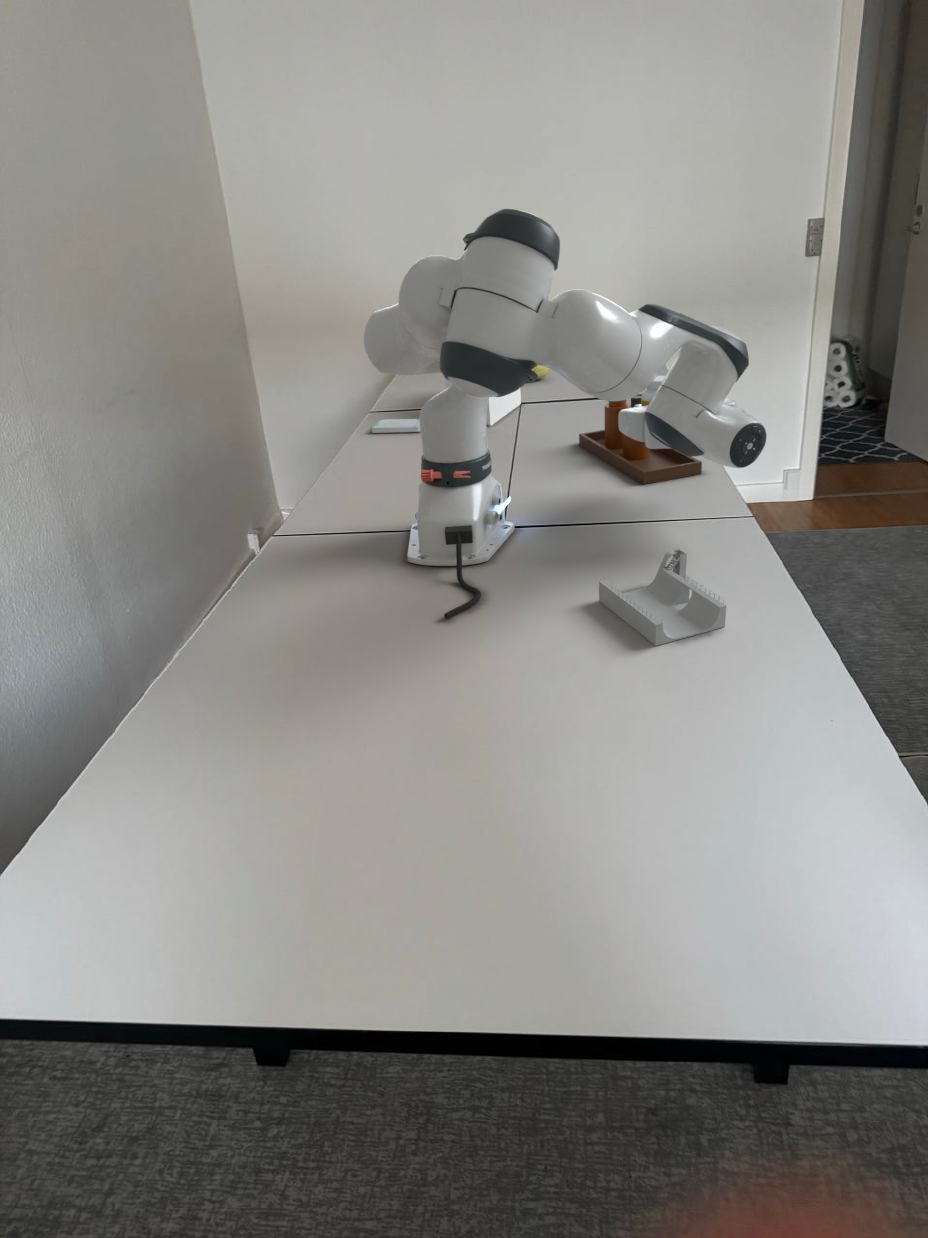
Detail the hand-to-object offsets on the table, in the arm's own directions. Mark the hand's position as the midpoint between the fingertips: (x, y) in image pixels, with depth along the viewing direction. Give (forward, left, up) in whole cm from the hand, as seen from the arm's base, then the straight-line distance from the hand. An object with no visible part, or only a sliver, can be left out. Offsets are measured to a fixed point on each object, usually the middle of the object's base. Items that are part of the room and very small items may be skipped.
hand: (656, 405), depth 151 cm
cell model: (+101, +38, -17) cm, 109 cm away
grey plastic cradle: (-49, -1, -17) cm, 52 cm away
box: (+70, +45, -17) cm, 85 cm away
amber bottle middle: (+21, +4, -16) cm, 27 cm away
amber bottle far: (+29, +8, -16) cm, 34 cm away
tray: (+21, +4, -16) cm, 27 cm away
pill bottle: (-1, -1, -6) cm, 6 cm away
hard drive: (+51, +64, -17) cm, 83 cm away
